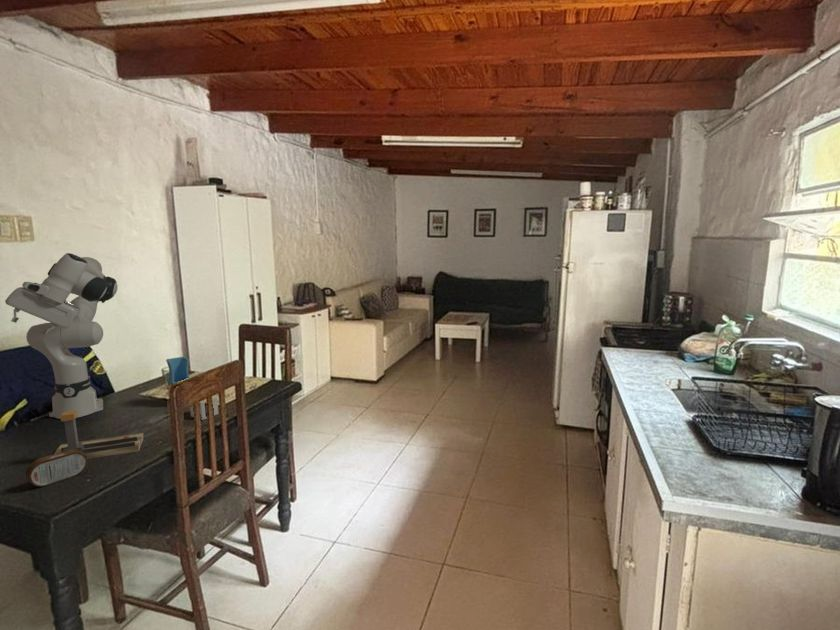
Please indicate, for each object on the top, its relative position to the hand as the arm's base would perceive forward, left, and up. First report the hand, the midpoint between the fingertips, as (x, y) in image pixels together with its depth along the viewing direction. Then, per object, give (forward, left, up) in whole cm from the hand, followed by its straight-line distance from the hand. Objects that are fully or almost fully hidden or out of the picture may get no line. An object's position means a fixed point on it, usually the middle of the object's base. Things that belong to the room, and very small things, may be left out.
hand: (28, 327), depth 168 cm
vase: (-20, +44, -41) cm, 64 cm away
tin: (+40, +15, -42) cm, 60 cm away
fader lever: (+24, +15, -39) cm, 48 cm away
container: (0, +54, -41) cm, 68 cm away
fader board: (+21, +21, -41) cm, 51 cm away
